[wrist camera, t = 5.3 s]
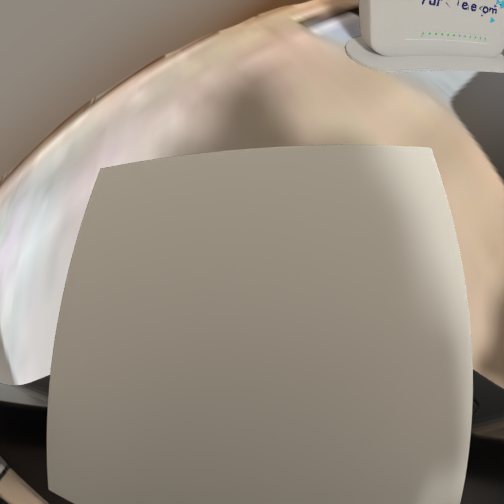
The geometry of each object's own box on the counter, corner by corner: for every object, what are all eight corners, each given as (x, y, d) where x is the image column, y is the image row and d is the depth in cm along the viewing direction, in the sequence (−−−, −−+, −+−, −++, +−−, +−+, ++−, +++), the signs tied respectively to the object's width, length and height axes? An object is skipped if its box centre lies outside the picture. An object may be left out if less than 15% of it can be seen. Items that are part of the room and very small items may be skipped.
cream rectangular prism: (342, 423, 13) (450, 539, 2) (242, 421, 14) (48, 489, 3) (344, 324, 15) (427, 140, 4) (248, 324, 16) (103, 160, 5)
